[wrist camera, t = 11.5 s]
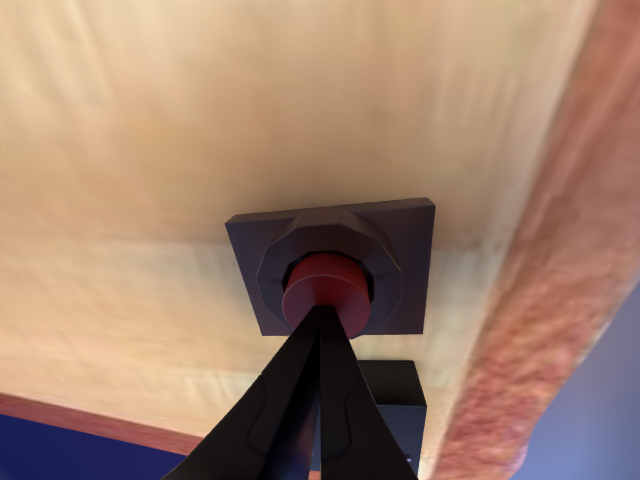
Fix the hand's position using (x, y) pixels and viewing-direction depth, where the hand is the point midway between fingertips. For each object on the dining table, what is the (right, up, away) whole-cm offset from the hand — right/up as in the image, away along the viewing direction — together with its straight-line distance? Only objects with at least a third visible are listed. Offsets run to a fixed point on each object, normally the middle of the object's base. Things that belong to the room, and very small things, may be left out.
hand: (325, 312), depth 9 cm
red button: (0, +1, +2) cm, 2 cm away
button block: (0, +1, +4) cm, 5 cm away
